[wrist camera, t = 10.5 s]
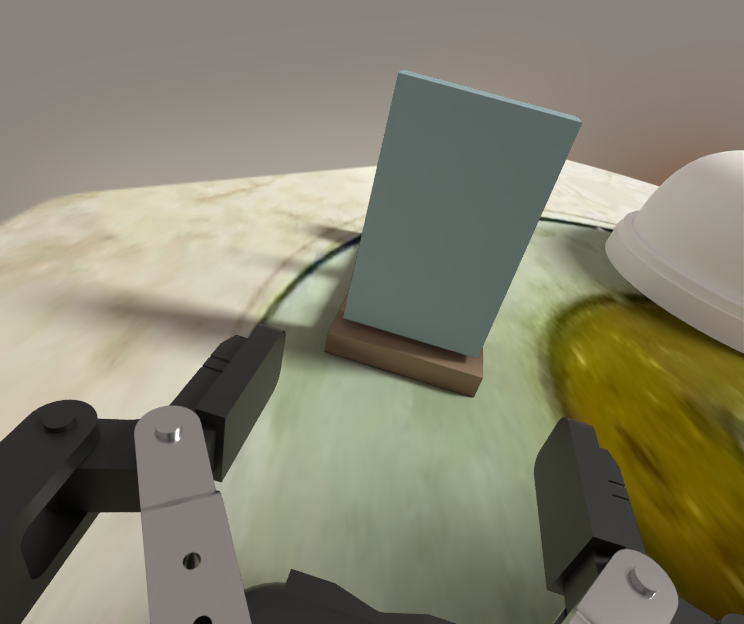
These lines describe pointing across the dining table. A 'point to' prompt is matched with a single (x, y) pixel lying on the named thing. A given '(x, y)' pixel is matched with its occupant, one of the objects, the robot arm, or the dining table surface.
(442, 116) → the blue-grey rectangular panel
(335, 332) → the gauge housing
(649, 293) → the dome cover
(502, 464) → the dining table surface
